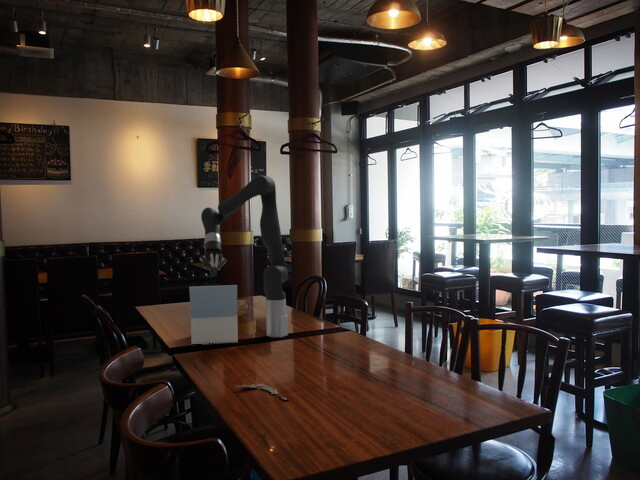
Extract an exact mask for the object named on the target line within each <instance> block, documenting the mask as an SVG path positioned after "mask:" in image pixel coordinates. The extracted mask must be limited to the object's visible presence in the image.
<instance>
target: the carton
mask: <svg viewBox="0 0 640 480" xmlns="http://www.w3.org/2000/svg"><path fill="white" fill-rule="evenodd" d="M238 324H239V323H238V316H231V317H210V318H191V317H190V330H191V331H190V332H191V334H190V335H191V337H190V338H191V339H190V340H191V343H190V344H191V345H192V344H202V345H214V344H215V345H216V344H217V345H218V344H230V343H231V344H235V343H236V344H237V343H238V342H239V340H238V339H239V337H238V336H239V334H238V326H239V325H238ZM209 343H210V344H209ZM212 343H213V344H212Z"/></svg>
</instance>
